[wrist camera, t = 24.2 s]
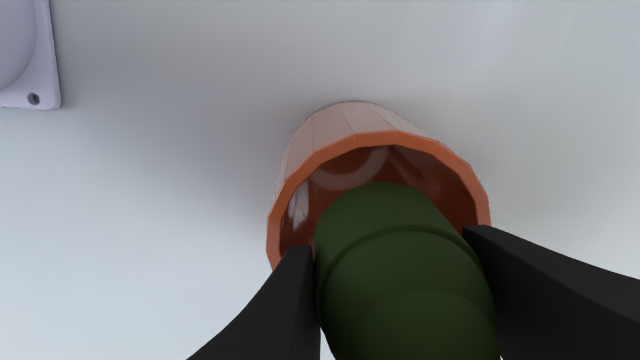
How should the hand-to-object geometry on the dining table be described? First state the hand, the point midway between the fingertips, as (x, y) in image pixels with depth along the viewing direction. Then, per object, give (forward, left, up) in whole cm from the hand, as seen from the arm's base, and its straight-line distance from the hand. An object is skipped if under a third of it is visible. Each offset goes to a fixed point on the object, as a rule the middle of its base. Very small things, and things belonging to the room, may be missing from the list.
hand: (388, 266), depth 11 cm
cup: (0, 0, -9) cm, 9 cm away
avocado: (0, 0, -1) cm, 1 cm away
